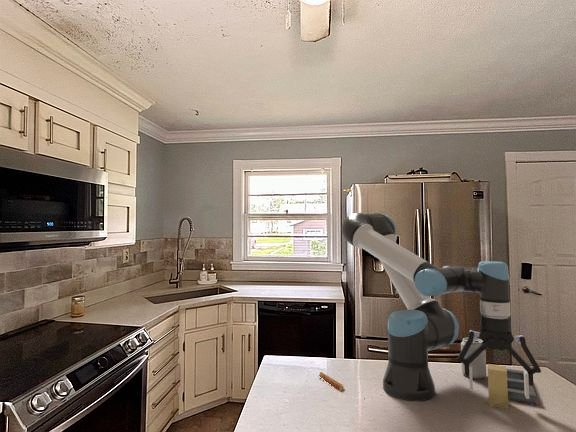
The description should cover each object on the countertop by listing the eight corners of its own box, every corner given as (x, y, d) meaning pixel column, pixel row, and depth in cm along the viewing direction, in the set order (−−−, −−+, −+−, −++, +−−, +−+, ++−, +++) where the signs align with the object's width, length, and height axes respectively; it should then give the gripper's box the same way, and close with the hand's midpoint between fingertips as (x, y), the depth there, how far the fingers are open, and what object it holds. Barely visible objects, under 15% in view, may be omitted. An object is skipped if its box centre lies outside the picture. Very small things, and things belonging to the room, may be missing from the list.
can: (489, 380, 118) (488, 343, 119) (465, 378, 119) (464, 342, 120) (482, 372, 125) (481, 336, 126) (459, 370, 127) (458, 335, 127)
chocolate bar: (338, 393, 110) (338, 385, 110) (317, 379, 121) (317, 372, 121) (345, 391, 111) (345, 383, 111) (323, 377, 122) (323, 370, 122)
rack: (499, 398, 105) (498, 389, 105) (495, 374, 123) (495, 367, 123) (536, 404, 101) (536, 395, 101) (526, 379, 119) (526, 371, 119)
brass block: (489, 405, 101) (488, 369, 101) (488, 398, 105) (487, 363, 105) (508, 408, 99) (506, 371, 99) (506, 402, 103) (505, 366, 103)
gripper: (446, 314, 105) (449, 389, 104) (551, 323, 94) (555, 406, 93) (448, 309, 112) (450, 379, 111) (545, 317, 101) (549, 395, 100)
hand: (498, 392), depth 102 cm, fingers open, 13 cm apart
